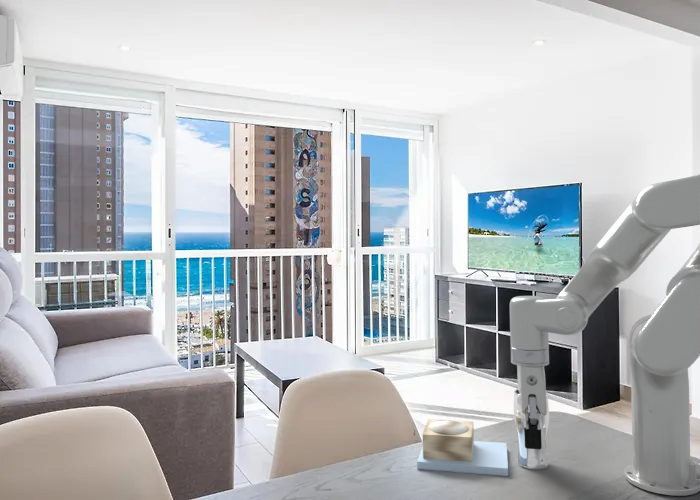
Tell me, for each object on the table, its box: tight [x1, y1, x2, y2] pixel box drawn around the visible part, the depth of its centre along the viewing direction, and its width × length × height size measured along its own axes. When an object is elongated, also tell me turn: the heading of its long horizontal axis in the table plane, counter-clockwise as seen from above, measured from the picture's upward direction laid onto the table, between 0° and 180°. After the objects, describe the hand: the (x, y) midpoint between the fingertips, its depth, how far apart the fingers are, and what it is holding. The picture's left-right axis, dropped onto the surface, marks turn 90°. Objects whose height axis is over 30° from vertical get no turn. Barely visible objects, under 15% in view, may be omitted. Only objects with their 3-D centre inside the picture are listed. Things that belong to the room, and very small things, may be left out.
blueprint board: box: [416, 440, 509, 477], centre depth 116 cm, size 18×14×2 cm
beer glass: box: [513, 388, 550, 471], centre depth 112 cm, size 7×7×15 cm
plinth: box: [422, 418, 475, 462], centre depth 117 cm, size 10×10×5 cm
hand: (531, 441), depth 112 cm, fingers closed on beer glass, 6 cm apart
